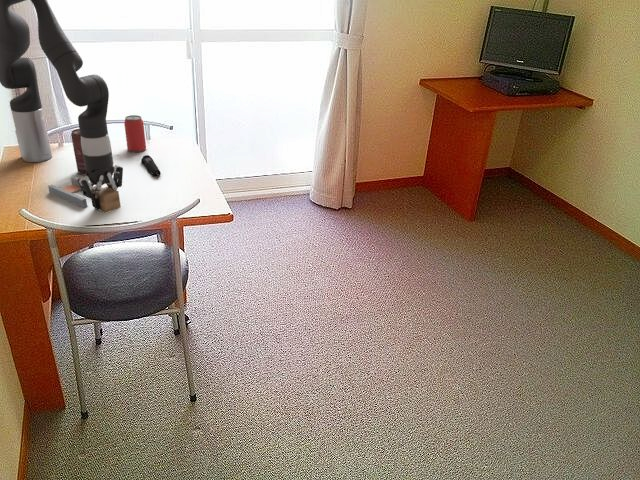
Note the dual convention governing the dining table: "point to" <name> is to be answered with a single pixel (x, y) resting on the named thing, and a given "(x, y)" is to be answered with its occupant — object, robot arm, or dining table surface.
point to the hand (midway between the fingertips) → (105, 204)
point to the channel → (69, 192)
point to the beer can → (135, 133)
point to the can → (78, 151)
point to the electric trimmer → (150, 165)
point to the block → (109, 199)
